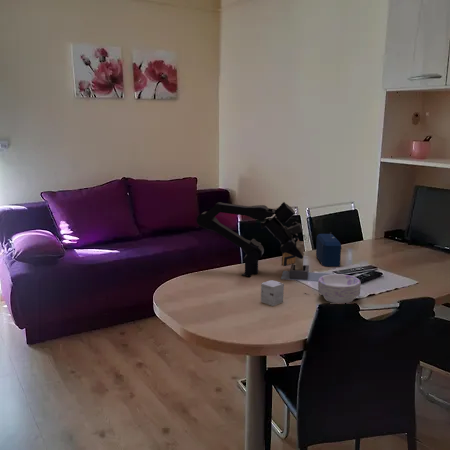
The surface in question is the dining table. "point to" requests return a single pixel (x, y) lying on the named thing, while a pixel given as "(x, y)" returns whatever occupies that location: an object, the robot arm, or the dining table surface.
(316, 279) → the base board
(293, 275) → the end cap
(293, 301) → the dining table surface
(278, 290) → the skincare box
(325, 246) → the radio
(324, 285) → the paper bowls
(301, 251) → the slat
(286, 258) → the ammunition clip
